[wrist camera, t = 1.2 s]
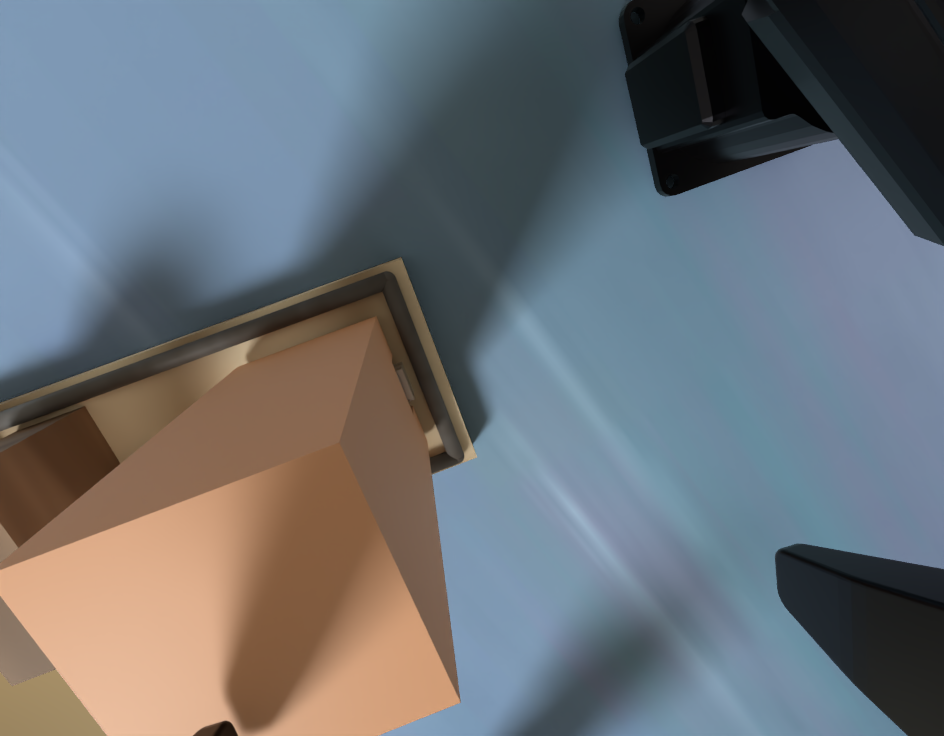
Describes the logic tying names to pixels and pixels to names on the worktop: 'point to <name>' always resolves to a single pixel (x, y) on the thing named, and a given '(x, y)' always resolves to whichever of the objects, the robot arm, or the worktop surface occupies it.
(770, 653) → the worktop surface
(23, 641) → the stop block
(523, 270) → the worktop surface
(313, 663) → the orange rectangular block
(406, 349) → the board
